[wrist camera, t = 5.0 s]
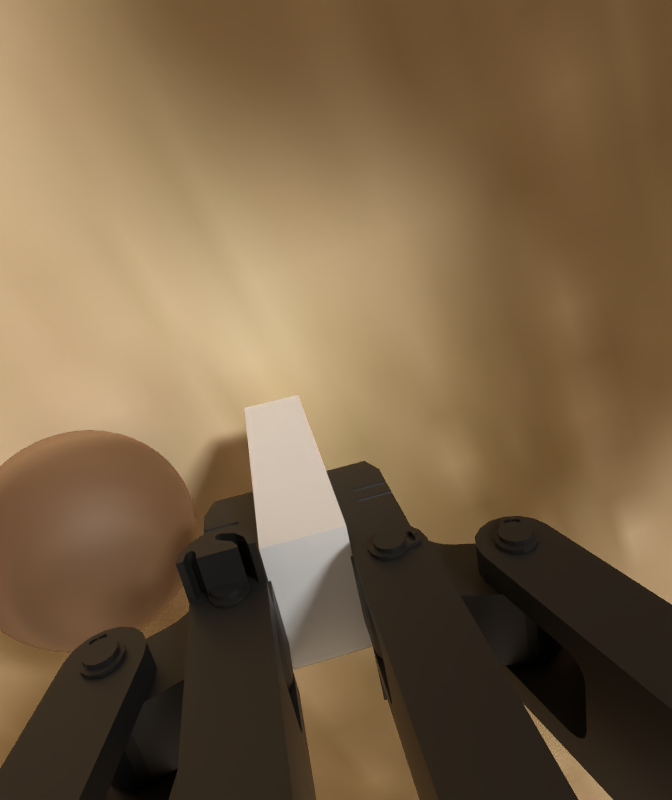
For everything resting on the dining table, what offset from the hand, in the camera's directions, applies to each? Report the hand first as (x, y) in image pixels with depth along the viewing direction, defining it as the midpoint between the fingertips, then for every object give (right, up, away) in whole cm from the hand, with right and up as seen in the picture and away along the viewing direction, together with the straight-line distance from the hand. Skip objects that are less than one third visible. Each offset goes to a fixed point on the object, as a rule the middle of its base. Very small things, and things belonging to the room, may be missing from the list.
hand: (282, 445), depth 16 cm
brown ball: (-5, -2, -1) cm, 6 cm away
